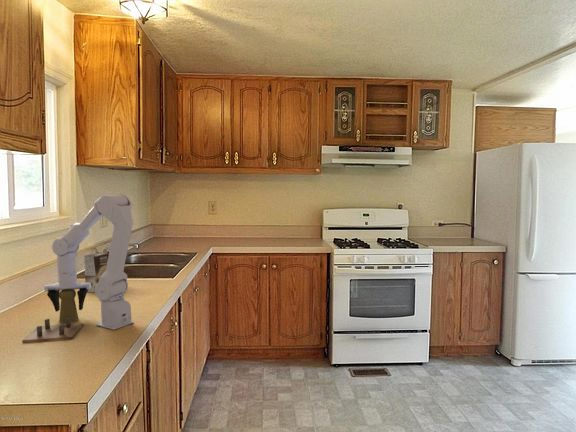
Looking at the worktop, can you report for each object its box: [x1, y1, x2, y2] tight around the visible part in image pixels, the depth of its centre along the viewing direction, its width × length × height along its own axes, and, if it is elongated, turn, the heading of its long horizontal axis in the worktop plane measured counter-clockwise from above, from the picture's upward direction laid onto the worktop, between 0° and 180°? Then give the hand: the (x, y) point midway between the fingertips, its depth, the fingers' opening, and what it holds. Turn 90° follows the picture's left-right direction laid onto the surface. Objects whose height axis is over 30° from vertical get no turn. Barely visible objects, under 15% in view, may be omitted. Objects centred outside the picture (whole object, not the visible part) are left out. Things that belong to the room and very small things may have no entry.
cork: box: [58, 289, 80, 324], centre depth 145 cm, size 6×6×11 cm
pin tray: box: [22, 317, 85, 344], centre depth 132 cm, size 14×12×4 cm
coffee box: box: [83, 252, 109, 293], centre depth 184 cm, size 9×6×16 cm
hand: (69, 309), depth 146 cm, fingers open, 7 cm apart
